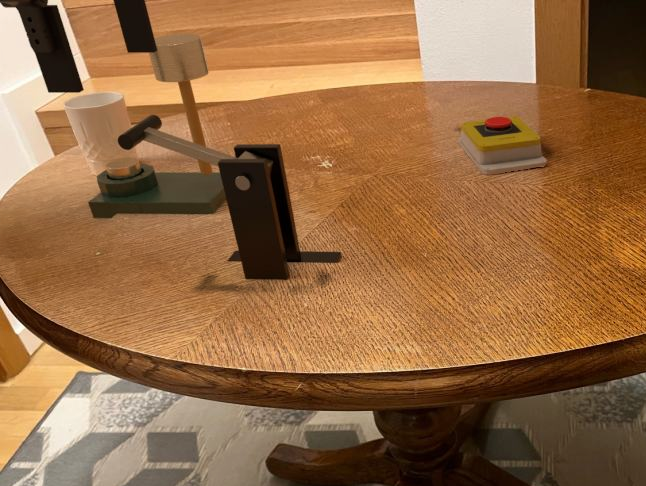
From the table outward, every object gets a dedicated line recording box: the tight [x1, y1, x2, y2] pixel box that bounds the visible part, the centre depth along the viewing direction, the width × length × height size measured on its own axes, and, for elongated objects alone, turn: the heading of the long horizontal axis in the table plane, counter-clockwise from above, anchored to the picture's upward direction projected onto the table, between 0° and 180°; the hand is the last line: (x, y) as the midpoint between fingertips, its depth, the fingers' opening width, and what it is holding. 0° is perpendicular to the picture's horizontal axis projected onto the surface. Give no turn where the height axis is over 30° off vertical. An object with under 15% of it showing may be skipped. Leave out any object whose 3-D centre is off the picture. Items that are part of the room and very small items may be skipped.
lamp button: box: [106, 158, 142, 180], centre depth 94 cm, size 4×4×2 cm
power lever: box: [118, 114, 273, 176], centre depth 69 cm, size 13×6×2 cm, turn 83°
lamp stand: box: [148, 33, 213, 175], centre depth 88 cm, size 6×6×16 cm
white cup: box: [62, 91, 139, 177], centre depth 104 cm, size 8×8×10 cm
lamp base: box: [87, 163, 227, 219], centre depth 94 cm, size 16×10×4 cm, turn 84°
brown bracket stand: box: [217, 143, 343, 281], centre depth 73 cm, size 12×9×14 cm
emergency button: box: [457, 115, 548, 176], centre depth 104 cm, size 9×4×15 cm
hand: (107, 70), depth 66 cm, fingers open, 13 cm apart
